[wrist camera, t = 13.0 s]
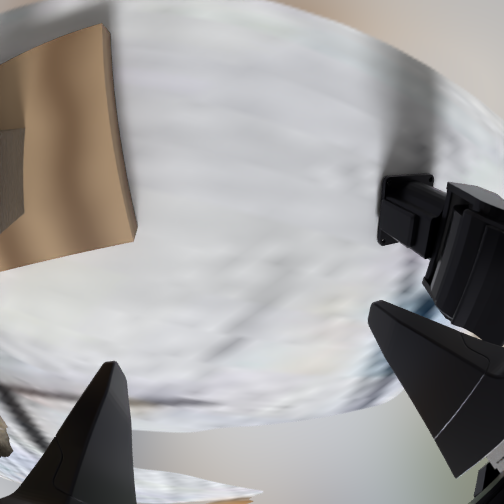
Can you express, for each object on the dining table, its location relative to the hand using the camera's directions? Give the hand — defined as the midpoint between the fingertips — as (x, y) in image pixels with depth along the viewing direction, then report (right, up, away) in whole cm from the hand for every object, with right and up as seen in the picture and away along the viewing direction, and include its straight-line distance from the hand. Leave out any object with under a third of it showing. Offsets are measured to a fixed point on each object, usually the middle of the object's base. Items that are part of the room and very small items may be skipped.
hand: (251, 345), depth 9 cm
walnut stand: (-17, +9, +5) cm, 20 cm away
